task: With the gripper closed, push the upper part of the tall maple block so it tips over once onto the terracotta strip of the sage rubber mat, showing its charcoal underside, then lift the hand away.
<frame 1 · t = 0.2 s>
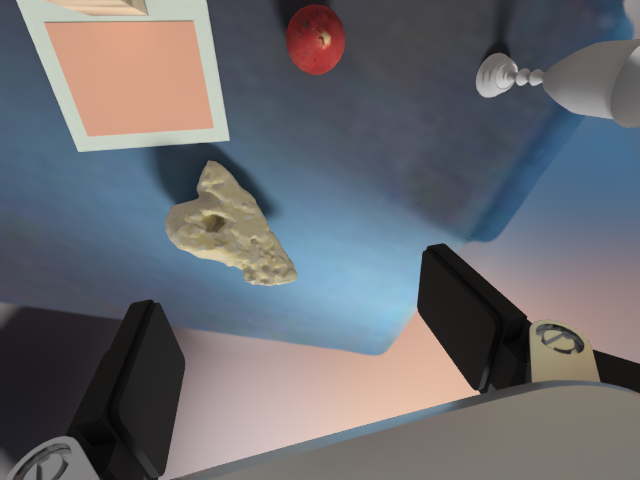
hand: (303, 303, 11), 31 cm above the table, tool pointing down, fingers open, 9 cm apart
mat: (123, 22, 30), on the table
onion: (308, 43, 34), on the table
chalice: (492, 75, 40), on the table
beige rock: (244, 216, 42), on the table
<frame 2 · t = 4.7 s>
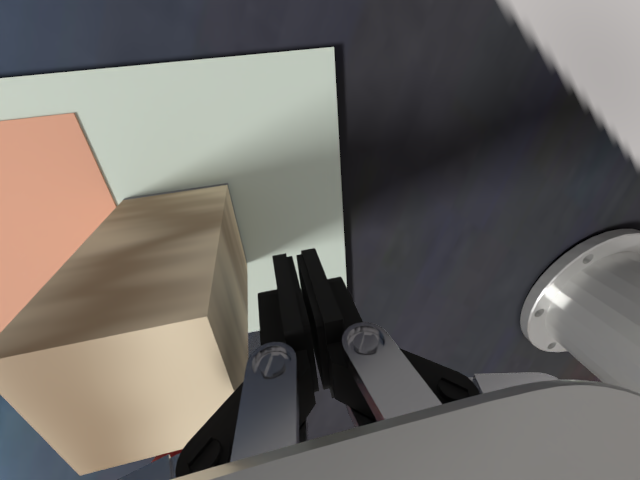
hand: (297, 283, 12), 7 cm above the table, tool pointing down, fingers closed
mat: (136, 238, 17), on the table
maple block: (191, 233, 17), resting on mat, touching gripper
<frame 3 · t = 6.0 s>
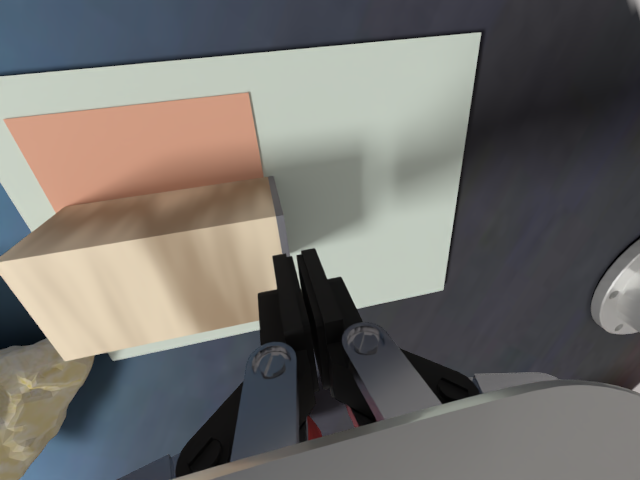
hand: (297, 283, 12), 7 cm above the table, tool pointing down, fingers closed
mat: (270, 215, 18), on the table
beige rock: (10, 394, 20), on the table
maple block: (285, 240, 15), point 3 cm above the table, tilted 90°, touching mat
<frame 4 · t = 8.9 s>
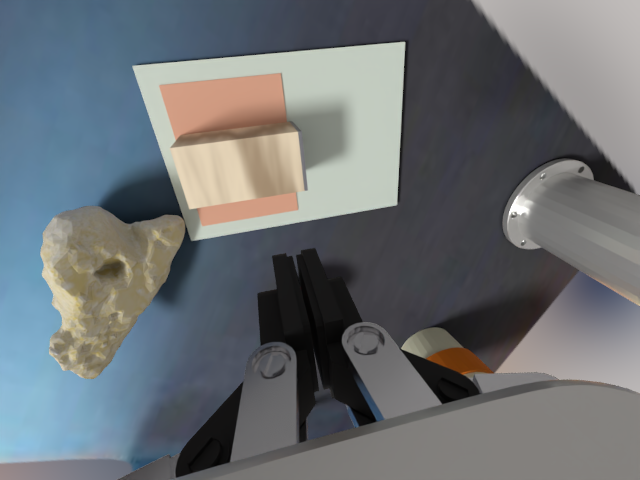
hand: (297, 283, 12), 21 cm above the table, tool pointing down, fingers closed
mat: (289, 147, 31), on the table
beige rock: (131, 267, 33), on the table, touching mat
reusable coffee cup: (424, 346, 51), on the table
maple block: (299, 154, 28), point 3 cm above the table, tilted 90°, touching mat
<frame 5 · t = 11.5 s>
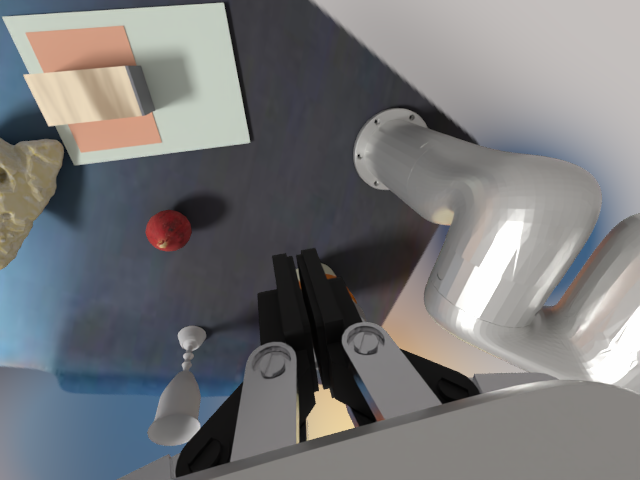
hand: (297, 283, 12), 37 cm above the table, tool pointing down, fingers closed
mat: (145, 88, 39), on the table
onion: (174, 219, 48), on the table
chalice: (192, 335, 59), on the table
beige rock: (32, 188, 42), on the table
maple block: (142, 90, 36), point 3 cm above the table, tilted 90°, touching mat
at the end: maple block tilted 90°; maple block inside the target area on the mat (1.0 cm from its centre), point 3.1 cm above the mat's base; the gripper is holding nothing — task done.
